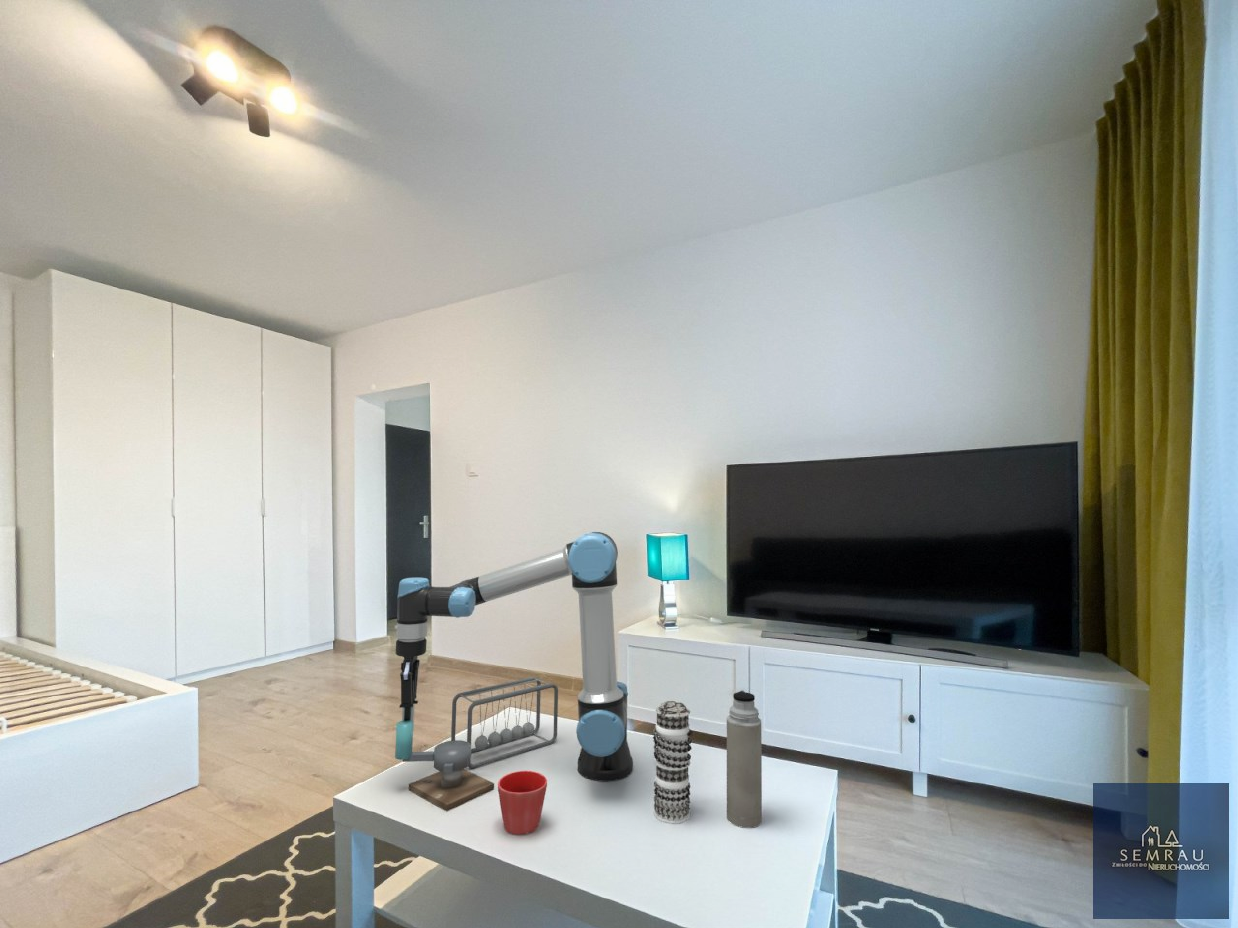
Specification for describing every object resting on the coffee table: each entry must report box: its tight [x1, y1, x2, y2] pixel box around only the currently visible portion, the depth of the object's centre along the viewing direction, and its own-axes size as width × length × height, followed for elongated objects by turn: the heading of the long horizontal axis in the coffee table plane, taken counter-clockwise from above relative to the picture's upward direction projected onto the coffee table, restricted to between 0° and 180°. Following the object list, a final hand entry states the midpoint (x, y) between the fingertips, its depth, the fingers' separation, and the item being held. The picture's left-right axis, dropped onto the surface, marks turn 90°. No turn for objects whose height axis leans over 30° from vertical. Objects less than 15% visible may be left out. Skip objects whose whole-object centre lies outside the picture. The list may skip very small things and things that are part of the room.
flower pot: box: [497, 770, 548, 836], centre depth 131 cm, size 11×11×10 cm
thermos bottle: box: [726, 691, 763, 828], centre depth 136 cm, size 8×8×28 cm
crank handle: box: [394, 720, 472, 773], centre depth 147 cm, size 18×12×10 cm, turn 96°
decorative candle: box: [652, 700, 693, 825], centre depth 137 cm, size 9×9×25 cm
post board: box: [408, 768, 495, 812], centre depth 147 cm, size 16×14×6 cm
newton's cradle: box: [450, 676, 559, 770], centre depth 171 cm, size 30×10×18 cm, turn 132°
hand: (407, 731), depth 150 cm, fingers closed
